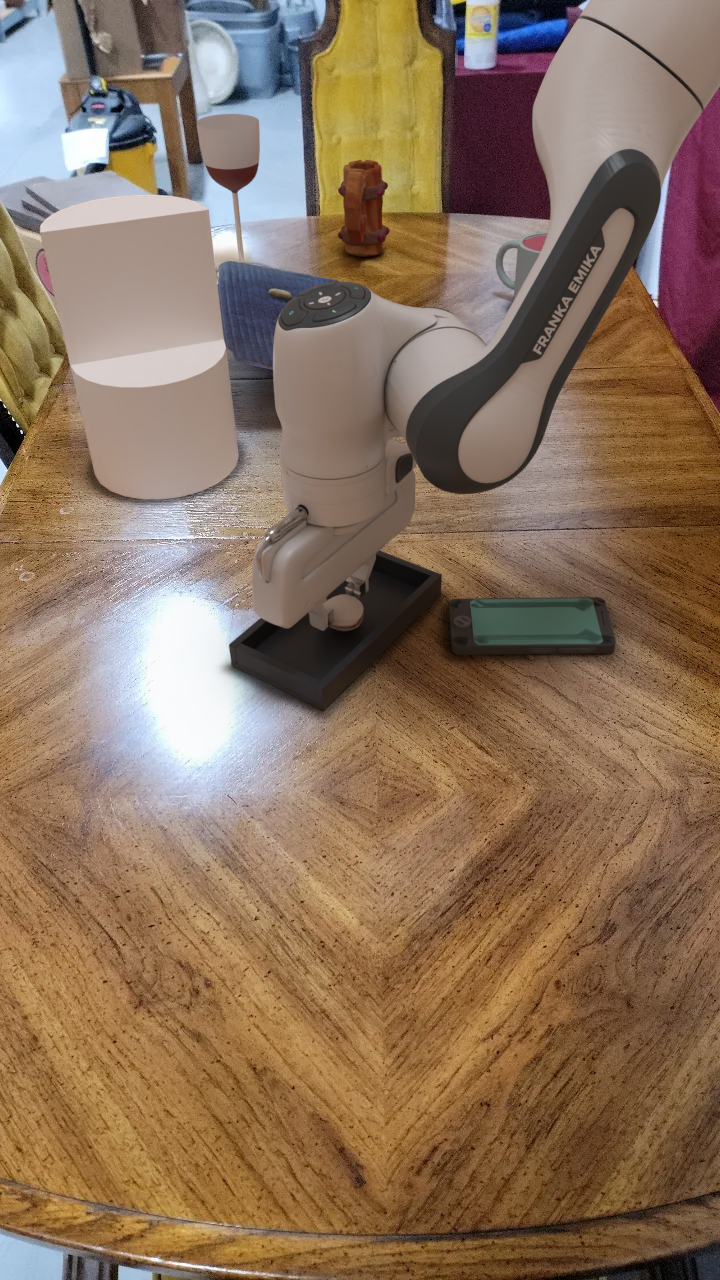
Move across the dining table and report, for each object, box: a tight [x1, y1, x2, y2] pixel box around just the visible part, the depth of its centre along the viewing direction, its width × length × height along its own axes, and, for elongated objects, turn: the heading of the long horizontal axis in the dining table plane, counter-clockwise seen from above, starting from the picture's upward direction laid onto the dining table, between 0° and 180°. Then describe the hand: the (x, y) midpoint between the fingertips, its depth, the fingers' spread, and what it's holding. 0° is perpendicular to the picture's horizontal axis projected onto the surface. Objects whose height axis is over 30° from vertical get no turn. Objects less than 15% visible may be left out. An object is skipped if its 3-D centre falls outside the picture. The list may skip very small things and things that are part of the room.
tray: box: [228, 550, 443, 711], centre depth 94 cm, size 11×20×3 cm, turn 145°
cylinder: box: [39, 194, 240, 500], centre depth 110 cm, size 17×17×28 cm
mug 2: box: [495, 231, 548, 300], centre depth 149 cm, size 14×9×10 cm
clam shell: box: [323, 594, 364, 631], centre depth 93 cm, size 4×5×2 cm
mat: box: [217, 260, 342, 371], centre depth 141 cm, size 45×27×12 cm, turn 10°
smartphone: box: [448, 596, 617, 656], centre depth 94 cm, size 7×1×15 cm
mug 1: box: [337, 159, 391, 257], centre depth 165 cm, size 15×8×15 cm, turn 168°
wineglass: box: [196, 113, 262, 278], centre depth 158 cm, size 9×10×23 cm
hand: (340, 608), depth 93 cm, fingers closed on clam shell, 4 cm apart
